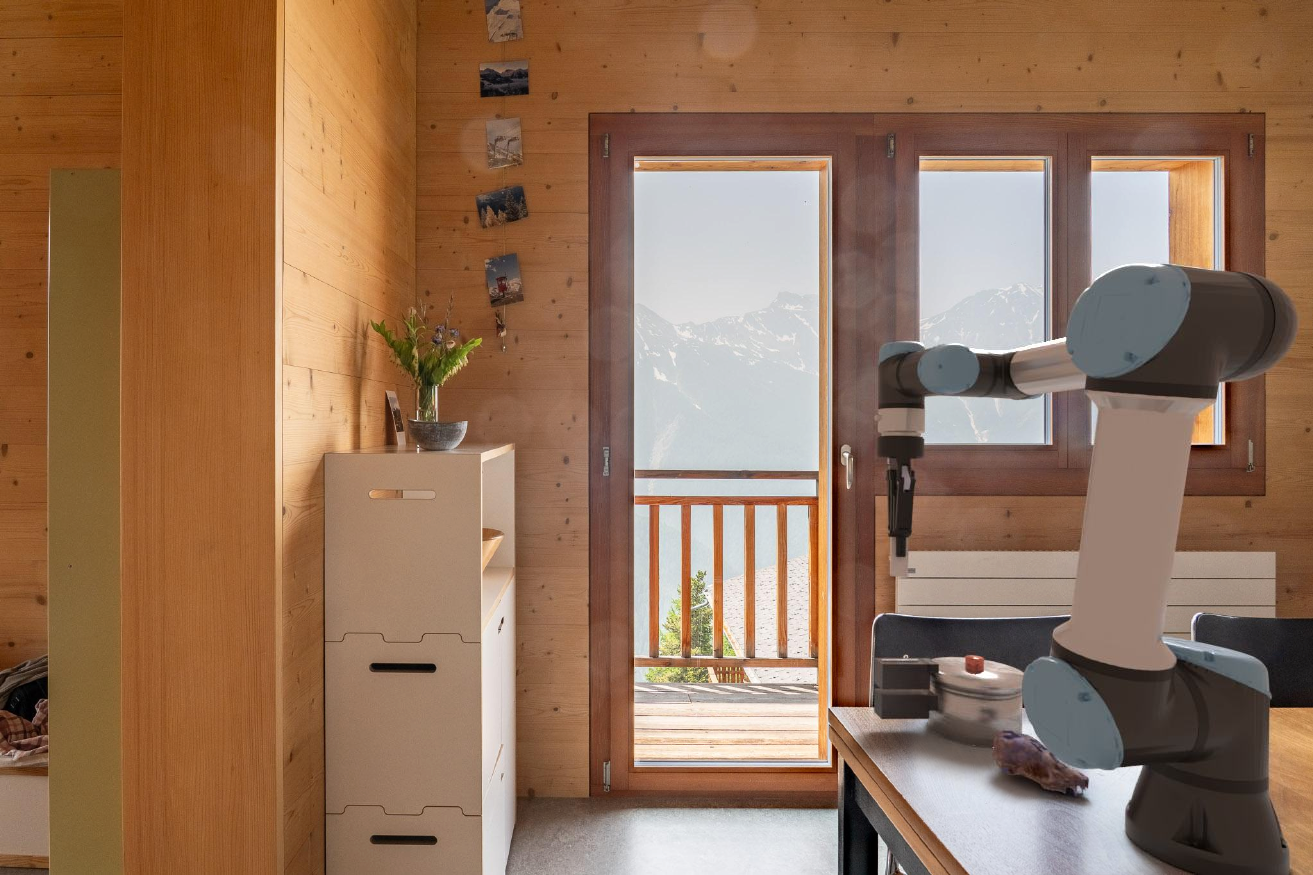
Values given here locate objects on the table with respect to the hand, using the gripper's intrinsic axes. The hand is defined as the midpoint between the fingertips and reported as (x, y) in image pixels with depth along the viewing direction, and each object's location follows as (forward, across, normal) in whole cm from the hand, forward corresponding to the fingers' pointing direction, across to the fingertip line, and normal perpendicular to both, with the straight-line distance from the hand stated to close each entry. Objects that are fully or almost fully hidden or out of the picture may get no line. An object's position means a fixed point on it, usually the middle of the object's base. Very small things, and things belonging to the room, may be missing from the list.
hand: (898, 575), depth 124 cm
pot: (+24, +2, +8) cm, 26 cm away
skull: (+25, +20, +15) cm, 35 cm away
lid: (+17, +2, +8) cm, 19 cm away
